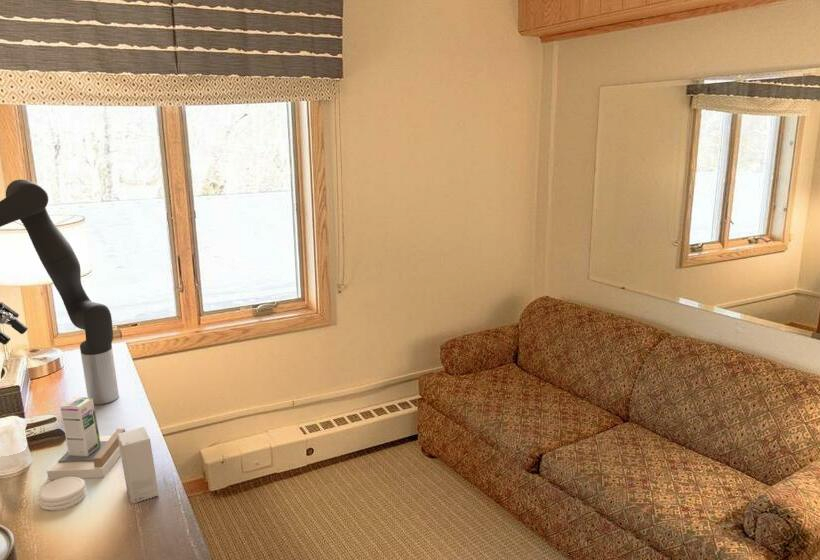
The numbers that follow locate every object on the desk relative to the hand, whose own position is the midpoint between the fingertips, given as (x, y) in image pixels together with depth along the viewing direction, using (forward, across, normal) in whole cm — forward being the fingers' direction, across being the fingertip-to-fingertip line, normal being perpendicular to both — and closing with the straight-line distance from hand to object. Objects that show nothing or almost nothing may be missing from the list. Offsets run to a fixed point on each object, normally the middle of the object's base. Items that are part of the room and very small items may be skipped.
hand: (16, 336), depth 173 cm
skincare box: (+51, -27, -4) cm, 58 cm away
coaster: (+38, -28, +9) cm, 48 cm away
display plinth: (+37, -10, +9) cm, 39 cm away
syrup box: (+34, -10, +8) cm, 37 cm away
